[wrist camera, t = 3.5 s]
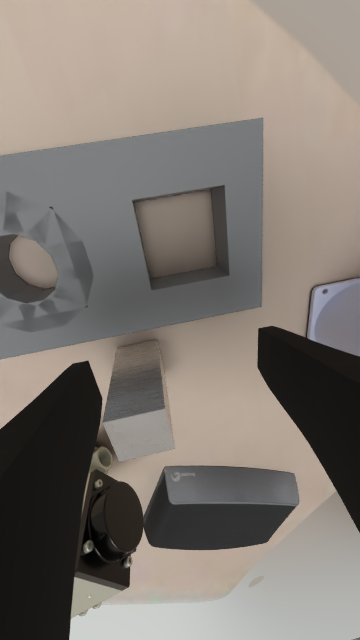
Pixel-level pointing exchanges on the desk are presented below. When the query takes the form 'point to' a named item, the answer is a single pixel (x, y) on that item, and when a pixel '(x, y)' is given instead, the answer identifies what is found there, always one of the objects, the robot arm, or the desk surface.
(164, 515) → the external hard drive
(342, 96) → the desk surface
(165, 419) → the square peg
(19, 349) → the socket plate
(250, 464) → the desk surface
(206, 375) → the desk surface
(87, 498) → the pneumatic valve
